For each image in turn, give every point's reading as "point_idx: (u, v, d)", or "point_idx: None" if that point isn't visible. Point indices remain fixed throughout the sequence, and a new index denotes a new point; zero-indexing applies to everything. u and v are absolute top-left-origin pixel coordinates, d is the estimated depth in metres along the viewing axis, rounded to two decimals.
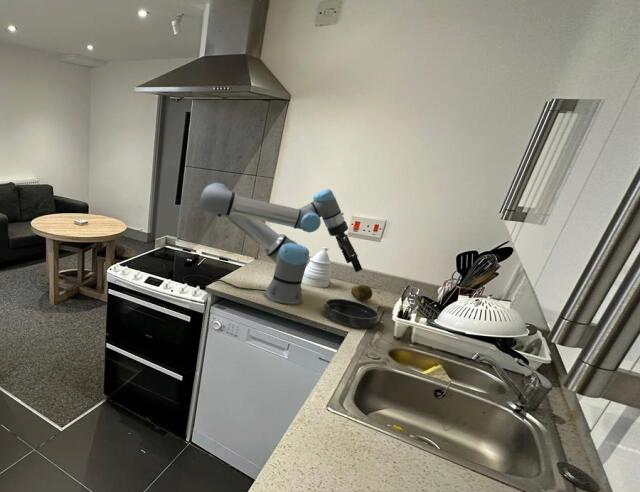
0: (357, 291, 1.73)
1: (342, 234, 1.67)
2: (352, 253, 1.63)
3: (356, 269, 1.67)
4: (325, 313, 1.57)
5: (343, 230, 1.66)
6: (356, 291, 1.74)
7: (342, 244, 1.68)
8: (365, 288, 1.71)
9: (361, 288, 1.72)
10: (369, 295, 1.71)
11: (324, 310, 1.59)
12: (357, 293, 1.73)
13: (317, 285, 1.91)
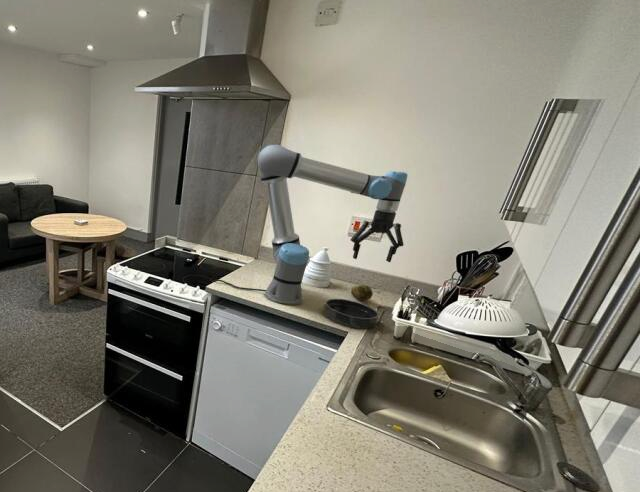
0: (357, 291, 1.73)
1: (373, 220, 1.65)
2: (354, 236, 1.69)
3: (353, 255, 1.72)
4: (325, 313, 1.57)
5: (375, 217, 1.63)
6: (356, 291, 1.74)
7: (369, 229, 1.68)
8: (365, 288, 1.71)
9: (361, 288, 1.72)
10: (369, 295, 1.71)
11: (324, 310, 1.59)
12: (357, 293, 1.73)
13: (317, 285, 1.91)
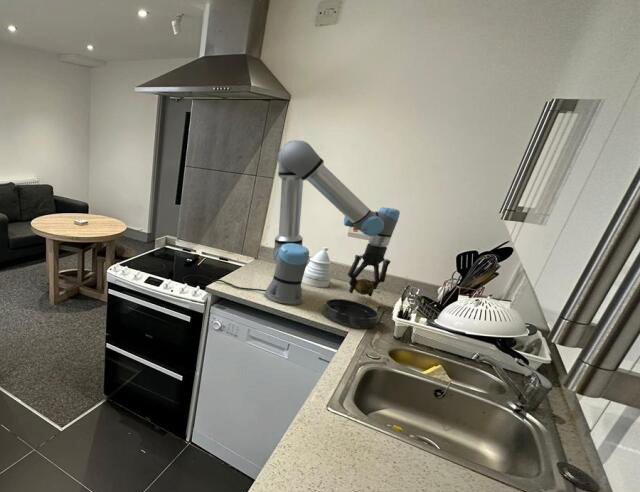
0: (359, 285, 1.72)
1: (365, 253, 1.70)
2: (349, 271, 1.75)
3: (350, 289, 1.78)
4: (325, 313, 1.57)
5: (367, 250, 1.69)
6: (358, 285, 1.73)
7: (362, 262, 1.73)
8: (367, 282, 1.70)
9: (363, 282, 1.71)
10: (371, 289, 1.70)
11: (324, 310, 1.59)
12: (359, 287, 1.72)
13: (317, 285, 1.91)
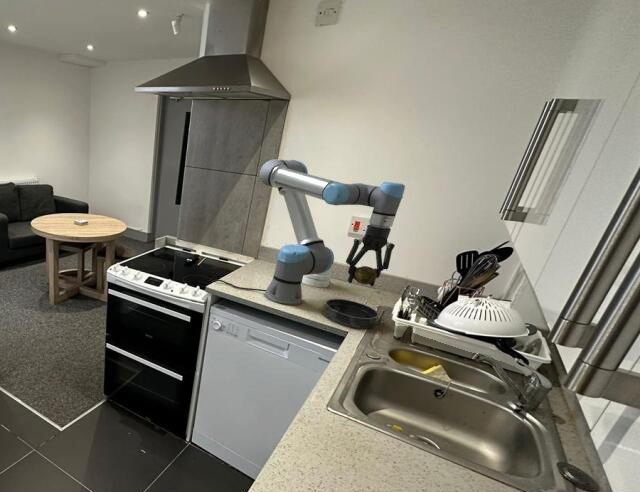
0: (359, 273, 1.49)
1: (365, 236, 1.47)
2: (348, 258, 1.52)
3: (348, 278, 1.55)
4: (325, 313, 1.57)
5: (368, 233, 1.46)
6: (358, 273, 1.50)
7: (362, 247, 1.50)
8: (368, 269, 1.47)
9: (364, 269, 1.48)
10: (373, 277, 1.47)
11: (324, 310, 1.59)
12: (359, 275, 1.49)
13: (317, 285, 1.91)
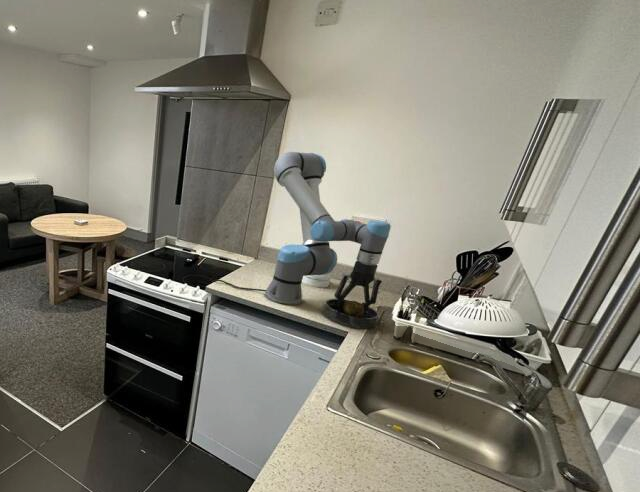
0: (347, 308, 1.52)
1: (353, 271, 1.51)
2: (336, 292, 1.55)
3: (337, 311, 1.59)
4: (325, 313, 1.57)
5: (355, 269, 1.49)
6: (346, 308, 1.53)
7: (350, 282, 1.54)
8: (356, 304, 1.50)
9: (351, 304, 1.51)
10: (360, 312, 1.50)
11: (324, 310, 1.59)
12: (347, 310, 1.53)
13: (317, 285, 1.91)
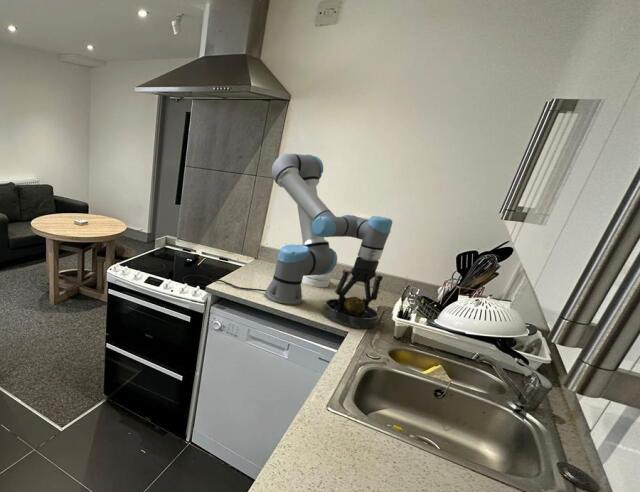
0: (348, 304, 1.52)
1: (354, 267, 1.50)
2: (337, 288, 1.55)
3: (338, 307, 1.58)
4: (325, 313, 1.57)
5: (356, 265, 1.49)
6: (346, 304, 1.53)
7: (351, 278, 1.53)
8: (357, 300, 1.50)
9: (352, 300, 1.51)
10: (361, 308, 1.49)
11: (324, 310, 1.59)
12: (348, 306, 1.52)
13: (317, 285, 1.91)
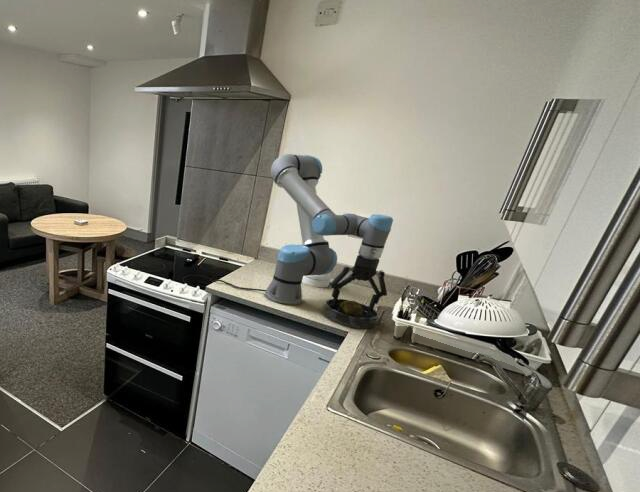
0: (345, 307, 1.53)
1: (354, 266, 1.50)
2: (333, 282, 1.54)
3: (332, 301, 1.58)
4: (325, 313, 1.57)
5: (357, 263, 1.48)
6: (344, 307, 1.53)
7: (350, 275, 1.53)
8: (354, 304, 1.51)
9: (350, 304, 1.51)
10: (359, 312, 1.50)
11: (324, 310, 1.59)
12: (345, 310, 1.53)
13: (317, 285, 1.91)
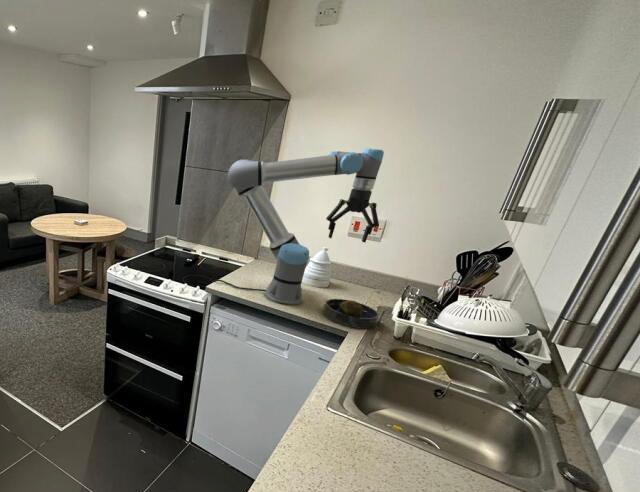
0: (345, 307, 1.53)
1: (349, 198, 1.63)
2: (329, 215, 1.67)
3: (329, 234, 1.71)
4: (325, 313, 1.57)
5: (351, 195, 1.61)
6: (344, 307, 1.53)
7: (345, 208, 1.66)
8: (354, 304, 1.51)
9: (350, 304, 1.51)
10: (359, 312, 1.50)
11: (324, 310, 1.59)
12: (345, 310, 1.53)
13: (317, 285, 1.91)
